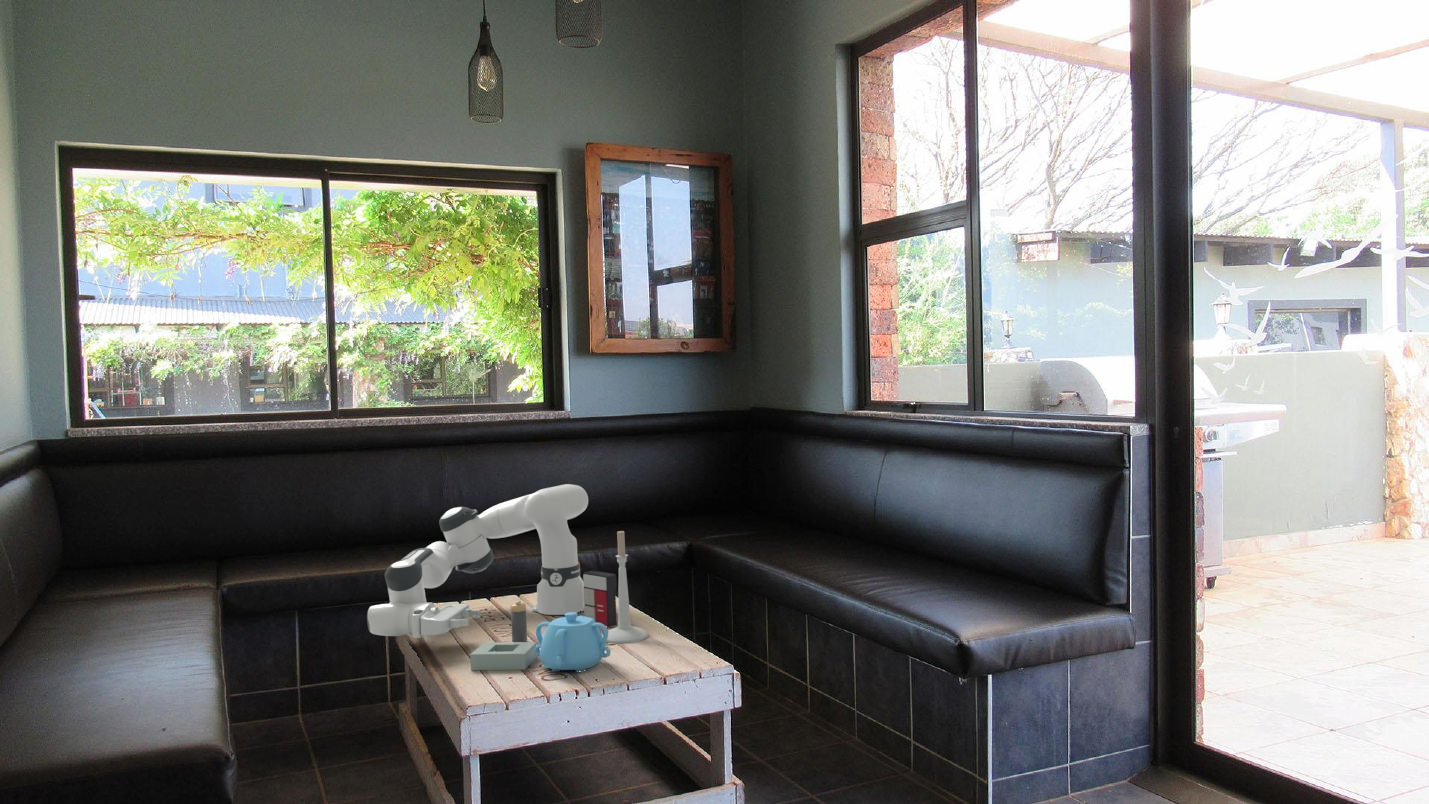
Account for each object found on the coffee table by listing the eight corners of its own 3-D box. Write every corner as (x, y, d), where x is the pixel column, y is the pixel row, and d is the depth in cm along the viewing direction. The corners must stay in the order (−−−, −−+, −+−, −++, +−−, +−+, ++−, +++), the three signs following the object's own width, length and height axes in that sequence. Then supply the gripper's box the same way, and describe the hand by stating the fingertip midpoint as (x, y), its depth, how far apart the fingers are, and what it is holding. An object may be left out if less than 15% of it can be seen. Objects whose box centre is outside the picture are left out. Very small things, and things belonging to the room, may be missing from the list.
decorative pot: (594, 654, 262) (592, 602, 262) (614, 669, 247) (612, 614, 247) (533, 664, 255) (531, 611, 255) (550, 680, 240) (548, 624, 240)
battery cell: (514, 646, 272) (512, 599, 272) (529, 646, 272) (527, 599, 272) (510, 650, 268) (508, 603, 268) (525, 650, 268) (523, 603, 268)
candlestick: (647, 642, 272) (643, 532, 271) (600, 644, 271) (596, 534, 270) (648, 630, 284) (644, 525, 284) (603, 632, 284) (598, 527, 283)
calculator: (583, 623, 296) (580, 572, 295) (594, 620, 299) (592, 570, 298) (607, 628, 288) (605, 576, 288) (618, 625, 291) (616, 574, 291)
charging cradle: (484, 657, 262) (484, 642, 262) (537, 657, 261) (536, 641, 261) (470, 670, 251) (470, 654, 251) (525, 669, 250) (524, 653, 250)
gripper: (439, 620, 283) (487, 620, 281) (411, 640, 262) (462, 639, 261) (438, 598, 282) (486, 597, 281) (410, 616, 262) (461, 615, 261)
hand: (474, 618), depth 271 cm, fingers open, 8 cm apart
